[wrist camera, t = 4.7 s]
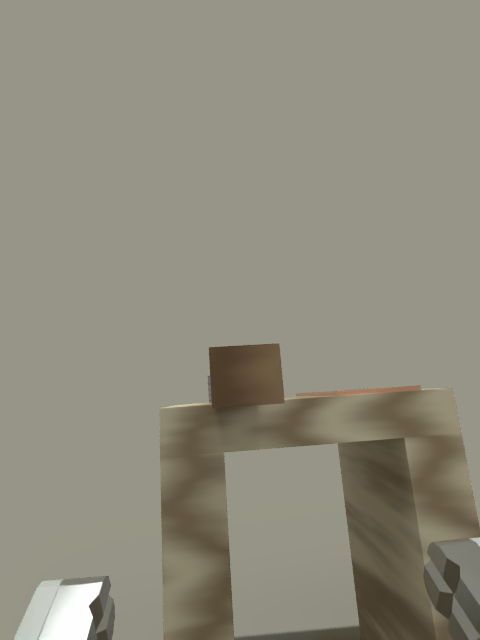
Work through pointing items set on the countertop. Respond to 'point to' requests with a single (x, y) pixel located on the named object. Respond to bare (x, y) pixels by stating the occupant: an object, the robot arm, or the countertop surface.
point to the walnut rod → (245, 376)
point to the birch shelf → (359, 493)
